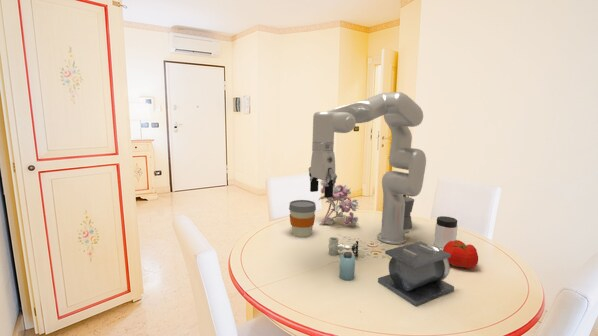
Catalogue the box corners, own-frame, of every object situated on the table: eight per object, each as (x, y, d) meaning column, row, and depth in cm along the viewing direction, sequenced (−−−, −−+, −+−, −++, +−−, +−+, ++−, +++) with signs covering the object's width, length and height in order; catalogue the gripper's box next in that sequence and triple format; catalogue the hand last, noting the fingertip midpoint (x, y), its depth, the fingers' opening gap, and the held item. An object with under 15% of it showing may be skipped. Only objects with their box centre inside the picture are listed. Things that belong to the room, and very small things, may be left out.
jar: (438, 239, 148) (440, 214, 147) (457, 244, 143) (459, 218, 141) (431, 245, 142) (434, 219, 140) (451, 250, 137) (454, 223, 135)
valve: (327, 257, 129) (357, 260, 127) (327, 241, 128) (358, 244, 126) (328, 250, 135) (358, 253, 133) (329, 235, 134) (358, 237, 132)
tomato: (434, 260, 128) (435, 239, 126) (458, 255, 132) (460, 236, 130) (459, 275, 116) (462, 252, 114) (485, 269, 120) (488, 248, 119)
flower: (335, 234, 149) (356, 184, 151) (302, 217, 165) (321, 173, 167) (357, 241, 163) (375, 196, 165) (324, 225, 179) (342, 184, 181)
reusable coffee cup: (319, 232, 155) (320, 202, 153) (306, 240, 145) (307, 208, 142) (298, 227, 162) (298, 198, 159) (283, 235, 151) (283, 204, 149)
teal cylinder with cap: (348, 272, 117) (349, 249, 115) (357, 278, 112) (358, 254, 111) (336, 275, 114) (337, 252, 113) (345, 281, 110) (346, 257, 108)
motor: (414, 270, 119) (417, 236, 117) (453, 290, 105) (457, 253, 103) (377, 282, 110) (380, 245, 108) (415, 306, 96) (419, 265, 94)
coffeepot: (412, 232, 157) (415, 196, 154) (392, 230, 160) (394, 195, 157) (411, 222, 172) (414, 189, 169) (393, 221, 174) (395, 188, 171)
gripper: (346, 149, 109) (343, 198, 111) (319, 144, 124) (317, 188, 126) (327, 149, 105) (325, 200, 108) (301, 145, 120) (300, 190, 123)
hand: (321, 194), depth 117 cm, fingers open, 9 cm apart
